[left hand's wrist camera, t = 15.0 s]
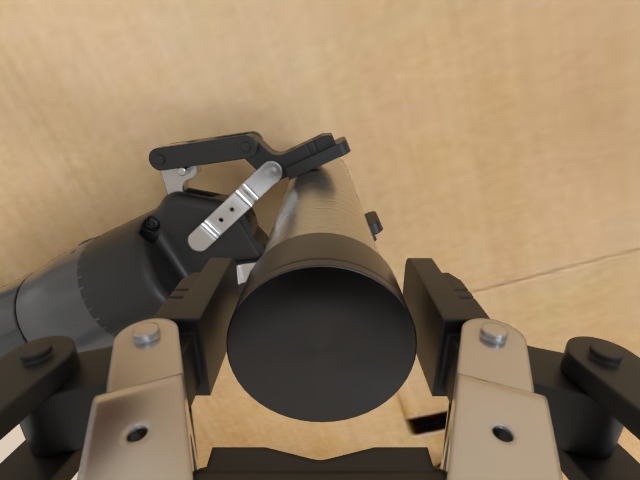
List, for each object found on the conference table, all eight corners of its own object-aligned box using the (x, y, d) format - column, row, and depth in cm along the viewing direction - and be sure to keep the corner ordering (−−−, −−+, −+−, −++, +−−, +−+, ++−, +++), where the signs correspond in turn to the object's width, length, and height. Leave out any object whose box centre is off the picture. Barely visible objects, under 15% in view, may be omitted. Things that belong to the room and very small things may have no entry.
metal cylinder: (326, 216, 29) (336, 422, 11) (281, 184, 28) (208, 350, 10) (360, 173, 28) (438, 322, 9) (314, 138, 27) (302, 228, 8)
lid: (425, 327, 11) (448, 377, 9) (297, 387, 12) (292, 446, 10) (351, 201, 10) (359, 227, 8) (211, 280, 11) (186, 323, 9)
